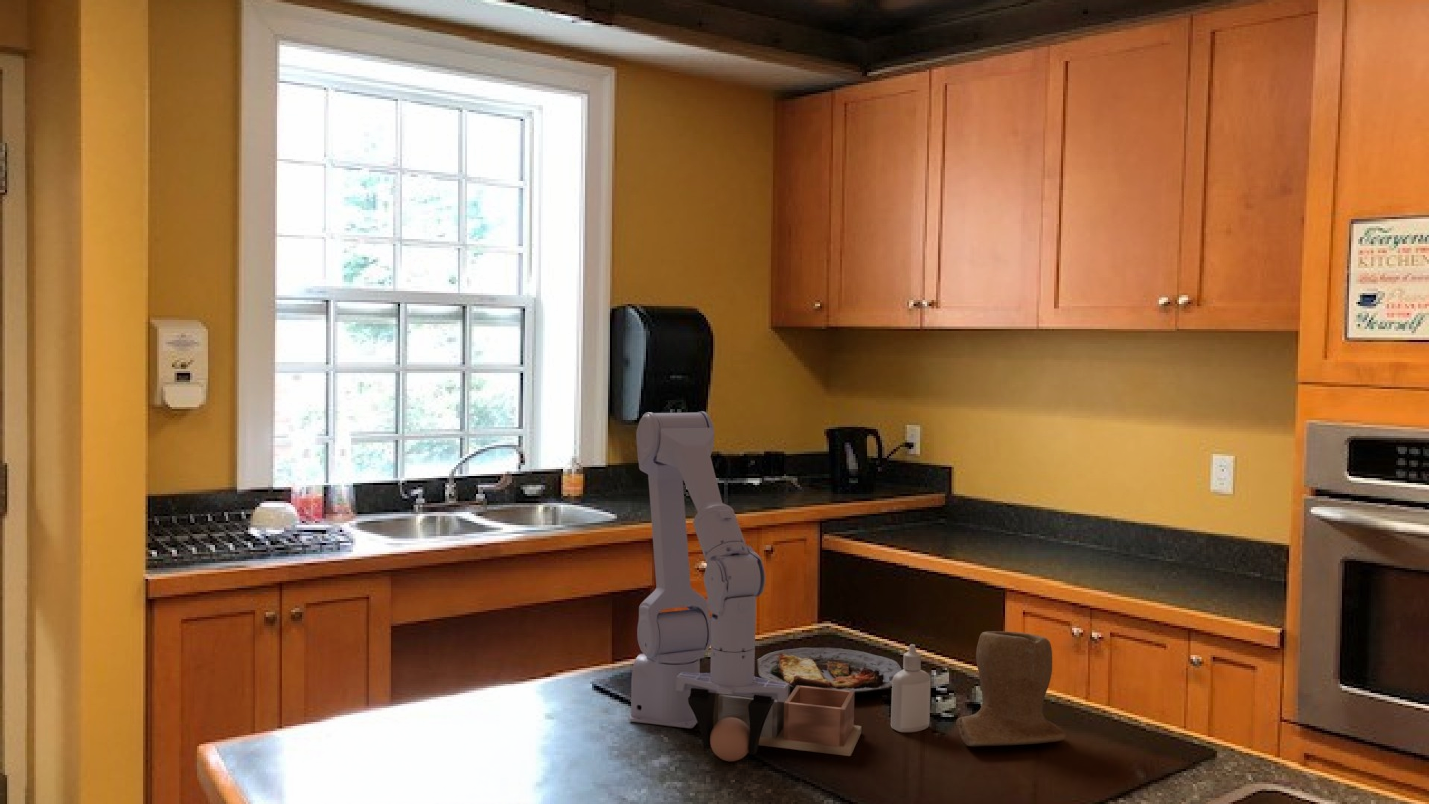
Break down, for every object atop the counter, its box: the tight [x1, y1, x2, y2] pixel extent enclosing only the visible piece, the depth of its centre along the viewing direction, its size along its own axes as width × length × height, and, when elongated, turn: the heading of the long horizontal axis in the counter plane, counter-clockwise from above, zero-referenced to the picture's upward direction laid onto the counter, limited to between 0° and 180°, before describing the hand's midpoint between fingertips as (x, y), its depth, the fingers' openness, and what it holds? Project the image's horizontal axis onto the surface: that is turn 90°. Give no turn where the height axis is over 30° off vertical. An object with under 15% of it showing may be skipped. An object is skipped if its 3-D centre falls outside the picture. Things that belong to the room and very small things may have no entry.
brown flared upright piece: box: [955, 630, 1066, 747], centre depth 159 cm, size 15×12×15 cm
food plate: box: [756, 646, 903, 694], centre depth 185 cm, size 25×23×4 cm
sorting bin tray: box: [717, 684, 862, 757], centre depth 159 cm, size 19×9×6 cm, turn 74°
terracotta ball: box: [710, 717, 750, 762], centre depth 150 cm, size 6×6×6 cm
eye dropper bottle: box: [890, 643, 931, 733], centre depth 163 cm, size 4×6×12 cm
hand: (730, 749), depth 150 cm, fingers closed on terracotta ball, 5 cm apart
